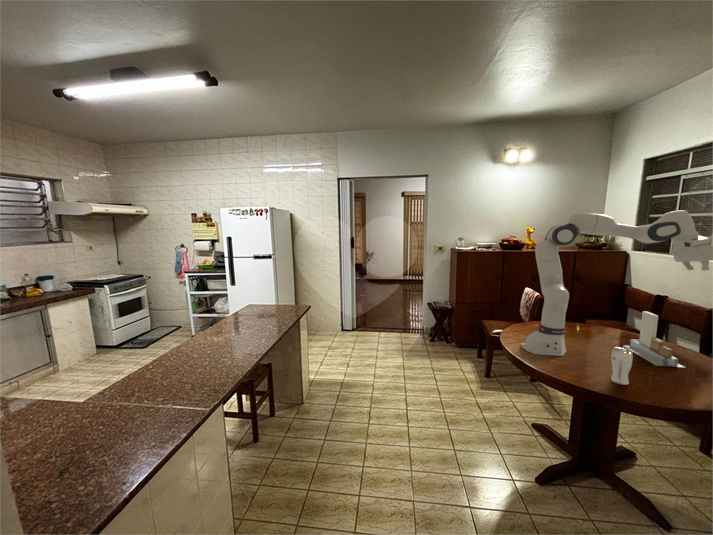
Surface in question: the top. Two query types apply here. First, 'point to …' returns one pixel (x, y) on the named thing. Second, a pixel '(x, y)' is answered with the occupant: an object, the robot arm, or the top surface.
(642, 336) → the tall panel
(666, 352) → the short offcut
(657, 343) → the tall offcut
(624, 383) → the beer glass
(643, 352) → the slot rack
